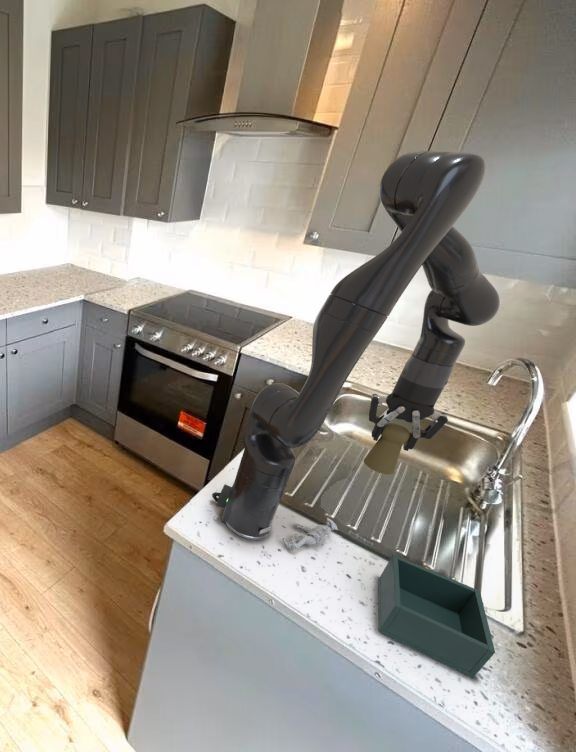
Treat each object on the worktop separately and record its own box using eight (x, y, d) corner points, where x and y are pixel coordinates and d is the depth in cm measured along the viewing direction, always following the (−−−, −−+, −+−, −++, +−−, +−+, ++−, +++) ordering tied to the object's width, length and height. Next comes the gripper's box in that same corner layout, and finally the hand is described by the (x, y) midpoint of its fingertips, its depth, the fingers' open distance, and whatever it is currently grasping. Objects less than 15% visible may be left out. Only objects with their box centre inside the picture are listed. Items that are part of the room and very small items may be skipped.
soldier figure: (271, 537, 92) (309, 507, 95) (285, 558, 91) (322, 527, 95) (297, 541, 84) (336, 508, 88) (312, 564, 84) (351, 529, 87)
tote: (378, 631, 73) (395, 605, 70) (378, 579, 83) (392, 554, 80) (472, 678, 67) (495, 652, 64) (460, 616, 77) (480, 590, 74)
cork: (371, 472, 98) (391, 432, 93) (358, 455, 103) (377, 417, 98) (399, 476, 97) (420, 436, 92) (385, 460, 102) (405, 421, 98)
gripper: (463, 382, 89) (426, 448, 97) (382, 362, 96) (354, 425, 104) (469, 396, 84) (430, 465, 91) (383, 373, 90) (353, 439, 98)
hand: (389, 443), depth 97 cm, fingers closed on cork, 5 cm apart
